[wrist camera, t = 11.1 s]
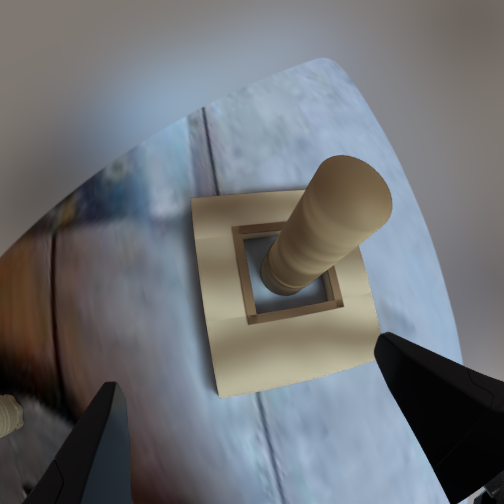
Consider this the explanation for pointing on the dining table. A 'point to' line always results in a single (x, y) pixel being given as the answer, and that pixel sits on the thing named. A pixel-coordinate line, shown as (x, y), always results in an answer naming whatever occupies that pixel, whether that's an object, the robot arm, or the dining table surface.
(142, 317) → the dining table surface
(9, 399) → the handle
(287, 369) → the socket board
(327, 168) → the peg
